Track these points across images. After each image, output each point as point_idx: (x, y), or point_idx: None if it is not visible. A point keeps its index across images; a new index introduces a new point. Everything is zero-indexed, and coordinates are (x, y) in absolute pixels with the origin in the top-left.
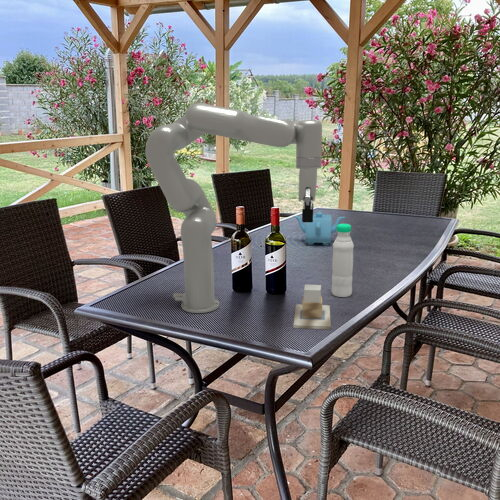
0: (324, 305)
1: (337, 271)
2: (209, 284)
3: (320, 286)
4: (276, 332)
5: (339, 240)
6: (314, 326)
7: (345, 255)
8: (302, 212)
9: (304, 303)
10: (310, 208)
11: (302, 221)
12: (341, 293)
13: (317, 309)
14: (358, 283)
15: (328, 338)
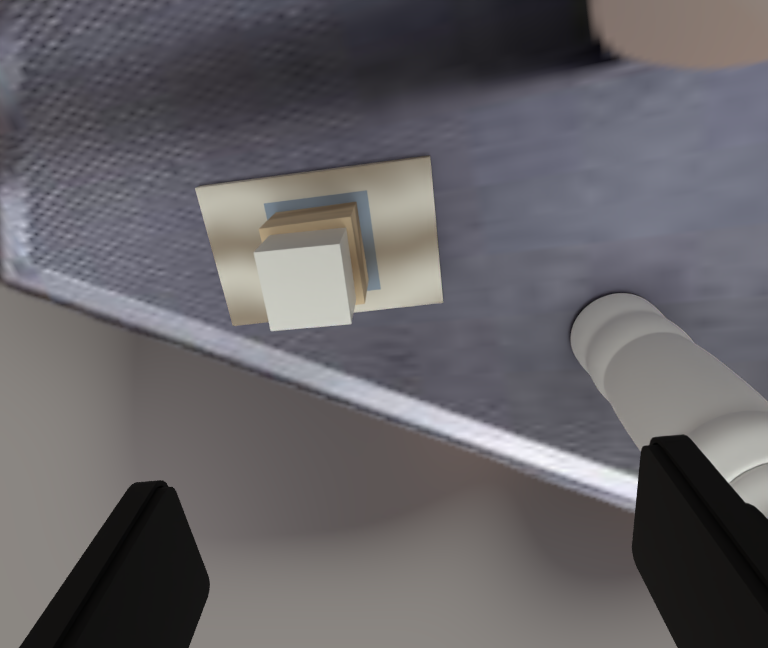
0: (437, 283)
1: (621, 370)
2: None
3: (327, 323)
4: (134, 123)
5: None
6: (219, 268)
7: None
8: (46, 618)
9: (261, 237)
10: (692, 639)
11: (135, 487)
12: (573, 340)
13: None
14: (754, 385)
15: (163, 320)
